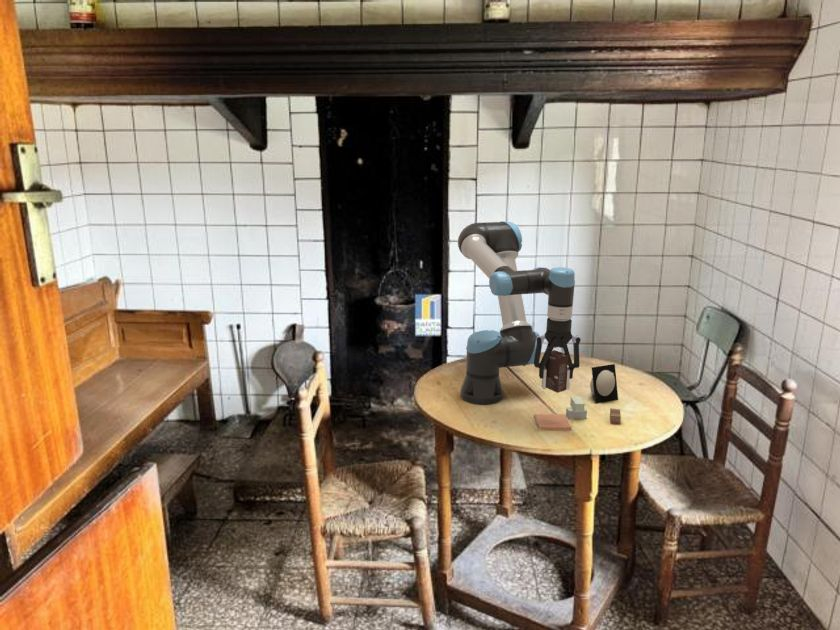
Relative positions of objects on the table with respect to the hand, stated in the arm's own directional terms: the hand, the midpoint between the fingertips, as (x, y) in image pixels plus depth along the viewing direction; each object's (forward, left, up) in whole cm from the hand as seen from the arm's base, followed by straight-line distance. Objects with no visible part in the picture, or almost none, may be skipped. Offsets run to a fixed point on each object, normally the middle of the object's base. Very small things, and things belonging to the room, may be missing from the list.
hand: (554, 387), depth 203 cm
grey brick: (+9, +6, -13) cm, 16 cm away
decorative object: (+21, +22, -13) cm, 33 cm away
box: (0, 0, -1) cm, 1 cm away
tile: (0, 0, -12) cm, 12 cm away
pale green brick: (+9, +6, -10) cm, 14 cm away
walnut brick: (+21, +3, -13) cm, 25 cm away
